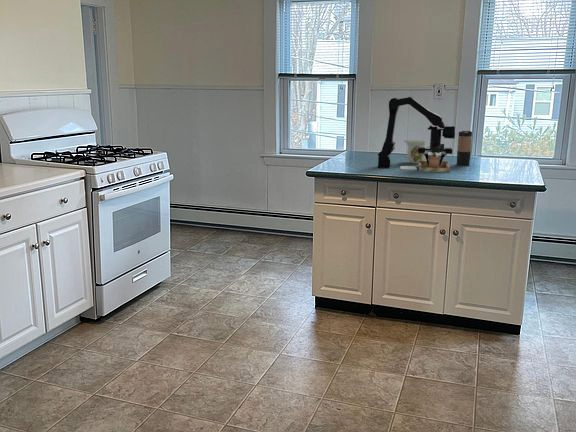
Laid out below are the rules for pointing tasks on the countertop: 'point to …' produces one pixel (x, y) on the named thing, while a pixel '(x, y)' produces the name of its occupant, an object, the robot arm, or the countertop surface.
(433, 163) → the pot
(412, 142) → the pitcher
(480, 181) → the countertop surface
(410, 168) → the tile
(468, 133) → the travel mug
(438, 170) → the wooden tray
